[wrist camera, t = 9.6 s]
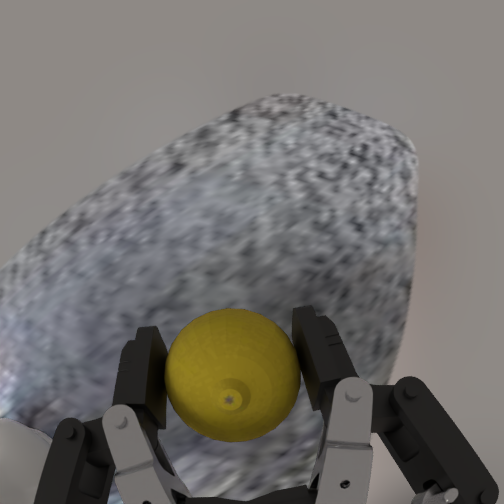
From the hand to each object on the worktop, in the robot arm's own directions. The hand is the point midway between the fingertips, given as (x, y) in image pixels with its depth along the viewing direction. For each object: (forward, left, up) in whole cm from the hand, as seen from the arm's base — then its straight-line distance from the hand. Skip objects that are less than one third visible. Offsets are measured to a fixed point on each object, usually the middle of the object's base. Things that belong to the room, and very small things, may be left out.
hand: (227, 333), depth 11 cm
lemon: (-1, -1, -5) cm, 5 cm away
